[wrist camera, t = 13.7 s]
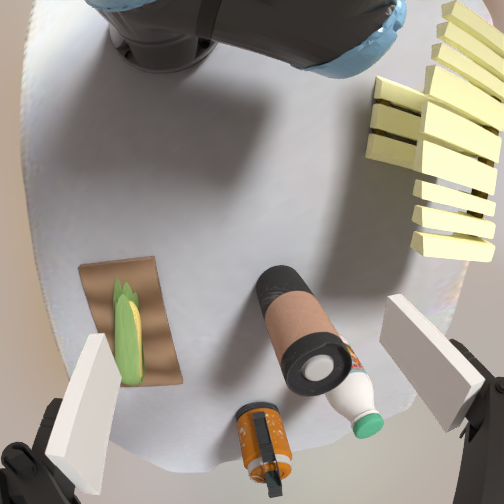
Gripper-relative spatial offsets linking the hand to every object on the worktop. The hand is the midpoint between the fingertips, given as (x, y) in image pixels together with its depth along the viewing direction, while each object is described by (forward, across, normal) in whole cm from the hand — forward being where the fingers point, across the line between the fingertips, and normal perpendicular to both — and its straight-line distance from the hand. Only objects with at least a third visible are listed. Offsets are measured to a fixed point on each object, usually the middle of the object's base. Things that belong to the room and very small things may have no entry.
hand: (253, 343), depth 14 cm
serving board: (+32, -16, -20) cm, 41 cm away
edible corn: (+31, -16, -19) cm, 40 cm away
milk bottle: (+32, +17, -30) cm, 47 cm away
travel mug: (+32, +8, -15) cm, 36 cm away
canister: (+32, +3, -44) cm, 54 cm away
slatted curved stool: (+32, +31, +9) cm, 45 cm away
